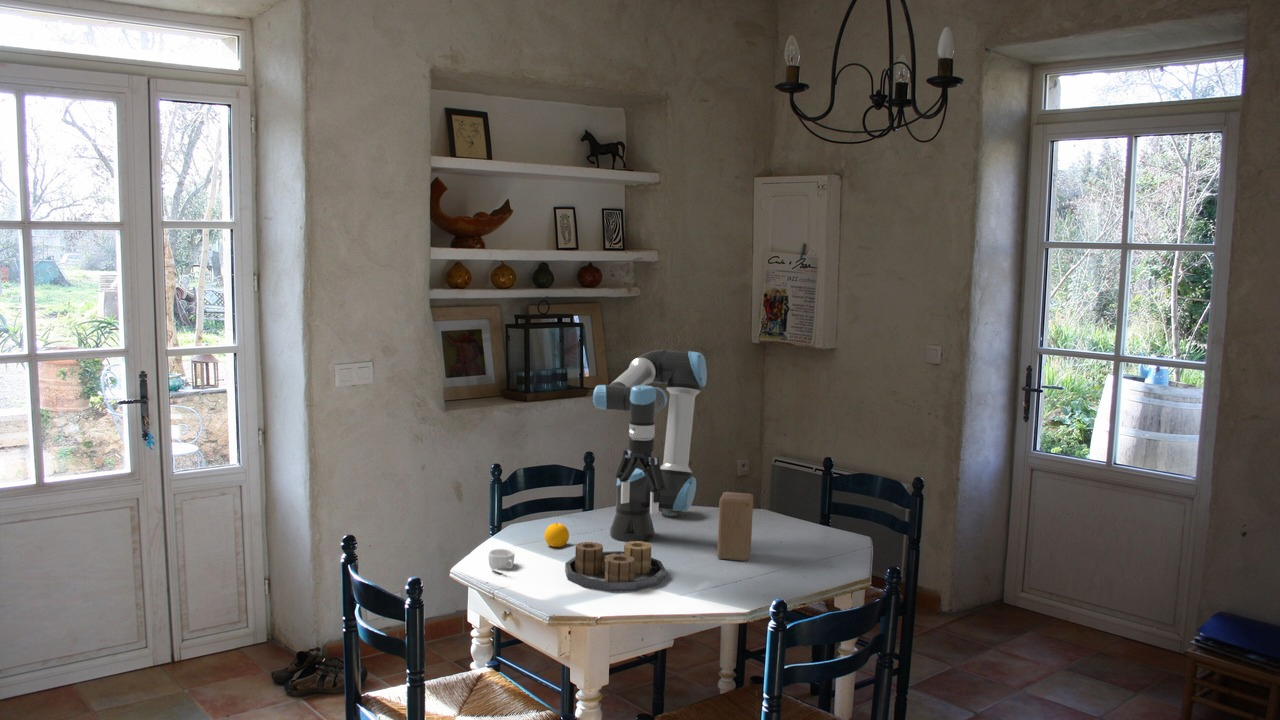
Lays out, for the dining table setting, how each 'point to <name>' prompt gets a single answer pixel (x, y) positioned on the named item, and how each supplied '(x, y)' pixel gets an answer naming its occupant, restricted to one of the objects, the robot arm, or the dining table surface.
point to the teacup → (501, 559)
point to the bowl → (669, 513)
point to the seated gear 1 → (588, 558)
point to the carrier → (599, 581)
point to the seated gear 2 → (619, 568)
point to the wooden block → (735, 526)
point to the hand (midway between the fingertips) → (639, 507)
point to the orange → (556, 535)
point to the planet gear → (639, 555)
